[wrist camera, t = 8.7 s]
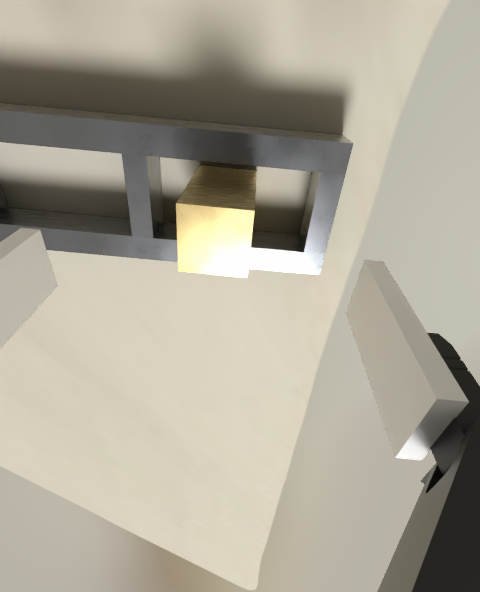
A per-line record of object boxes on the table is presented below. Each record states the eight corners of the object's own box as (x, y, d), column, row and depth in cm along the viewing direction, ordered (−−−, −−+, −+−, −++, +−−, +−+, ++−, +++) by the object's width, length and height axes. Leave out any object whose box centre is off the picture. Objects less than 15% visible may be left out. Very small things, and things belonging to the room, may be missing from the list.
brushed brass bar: (200, 165, 23) (175, 203, 16) (256, 170, 23) (254, 210, 16) (199, 219, 25) (178, 271, 19) (250, 223, 25) (247, 277, 19)
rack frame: (-52, 97, 21) (-93, 101, 19) (342, 135, 21) (353, 143, 19) (-3, 226, 26) (-30, 242, 24) (313, 256, 26) (319, 275, 24)
